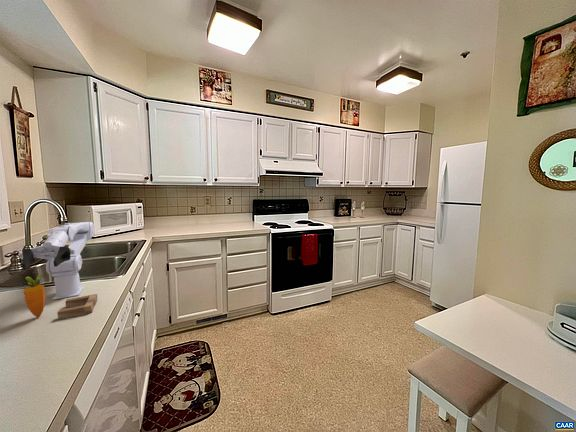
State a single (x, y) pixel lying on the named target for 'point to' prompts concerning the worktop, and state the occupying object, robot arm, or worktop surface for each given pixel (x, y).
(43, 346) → the worktop surface
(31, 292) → the carrot
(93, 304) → the walnut bracket
